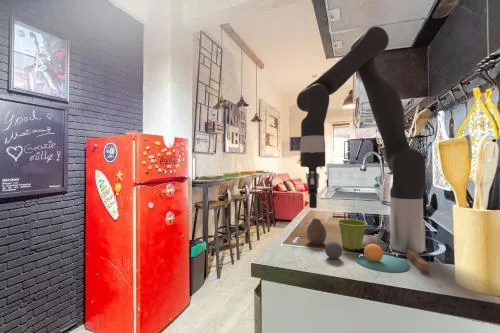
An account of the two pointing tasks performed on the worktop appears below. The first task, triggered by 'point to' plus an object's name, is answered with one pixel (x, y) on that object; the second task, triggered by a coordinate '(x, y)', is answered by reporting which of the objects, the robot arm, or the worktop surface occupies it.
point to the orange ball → (373, 252)
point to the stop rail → (418, 262)
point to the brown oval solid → (316, 232)
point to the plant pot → (352, 233)
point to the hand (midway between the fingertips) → (313, 207)
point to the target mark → (384, 264)
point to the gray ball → (333, 250)
